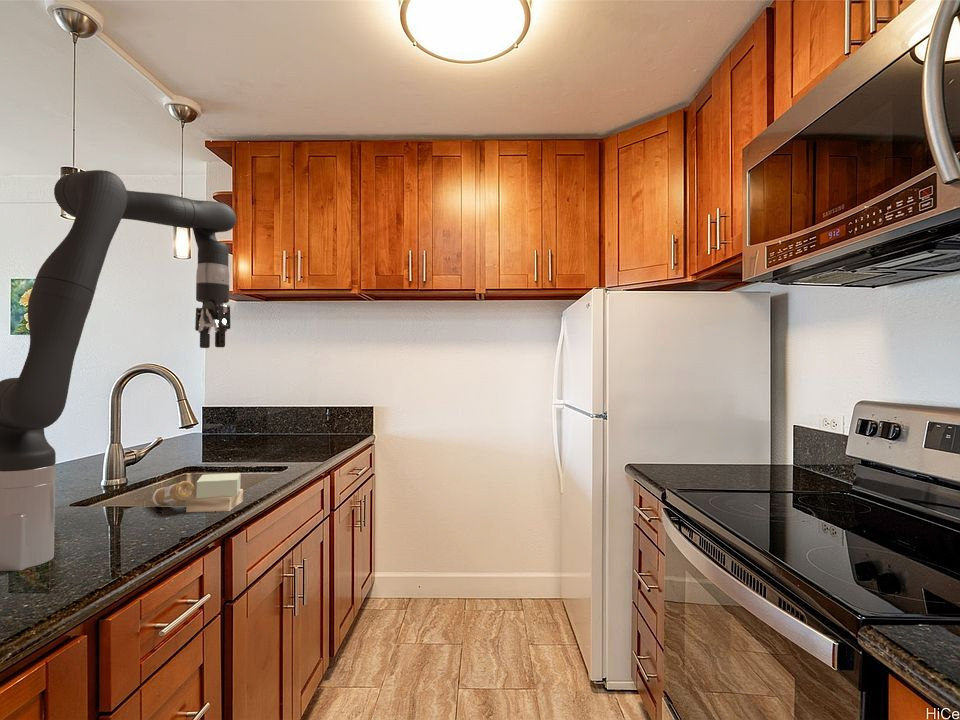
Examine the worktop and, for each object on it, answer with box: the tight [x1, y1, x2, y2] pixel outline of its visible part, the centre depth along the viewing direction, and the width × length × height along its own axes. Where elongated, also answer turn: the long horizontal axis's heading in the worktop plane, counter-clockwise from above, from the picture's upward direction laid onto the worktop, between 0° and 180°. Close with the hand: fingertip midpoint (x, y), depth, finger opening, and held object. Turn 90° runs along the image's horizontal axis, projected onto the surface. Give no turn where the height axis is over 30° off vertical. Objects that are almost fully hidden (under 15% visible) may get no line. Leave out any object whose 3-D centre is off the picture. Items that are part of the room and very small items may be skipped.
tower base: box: [185, 488, 244, 513], centre depth 139 cm, size 10×10×4 cm
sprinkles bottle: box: [152, 480, 196, 507], centre depth 136 cm, size 5×5×14 cm
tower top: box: [195, 472, 242, 498], centre depth 139 cm, size 9×9×4 cm
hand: (212, 347), depth 140 cm, fingers open, 8 cm apart
